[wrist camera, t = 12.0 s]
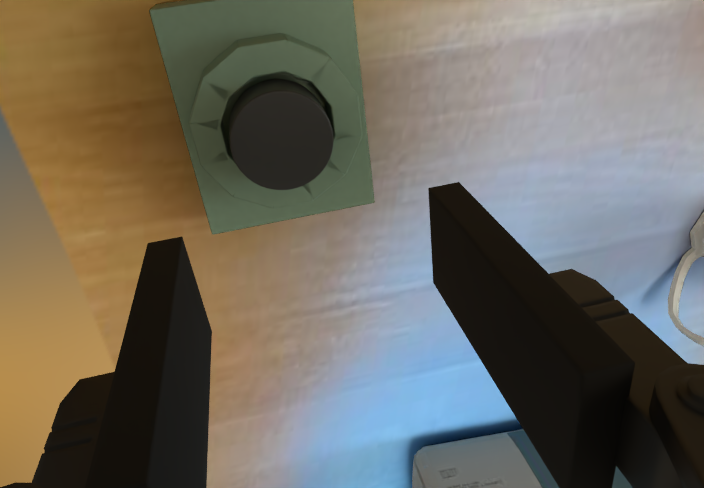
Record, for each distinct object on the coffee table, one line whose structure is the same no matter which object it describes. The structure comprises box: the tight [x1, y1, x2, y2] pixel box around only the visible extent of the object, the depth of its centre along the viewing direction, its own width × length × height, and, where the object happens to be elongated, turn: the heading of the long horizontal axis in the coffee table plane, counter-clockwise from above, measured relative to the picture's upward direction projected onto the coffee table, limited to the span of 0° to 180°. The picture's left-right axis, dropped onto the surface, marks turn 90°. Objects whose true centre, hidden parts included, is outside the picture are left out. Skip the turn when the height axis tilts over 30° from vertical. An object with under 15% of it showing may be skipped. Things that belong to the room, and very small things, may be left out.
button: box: [229, 79, 334, 190], centre depth 22 cm, size 4×4×2 cm
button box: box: [149, 0, 375, 234], centre depth 24 cm, size 10×8×4 cm
